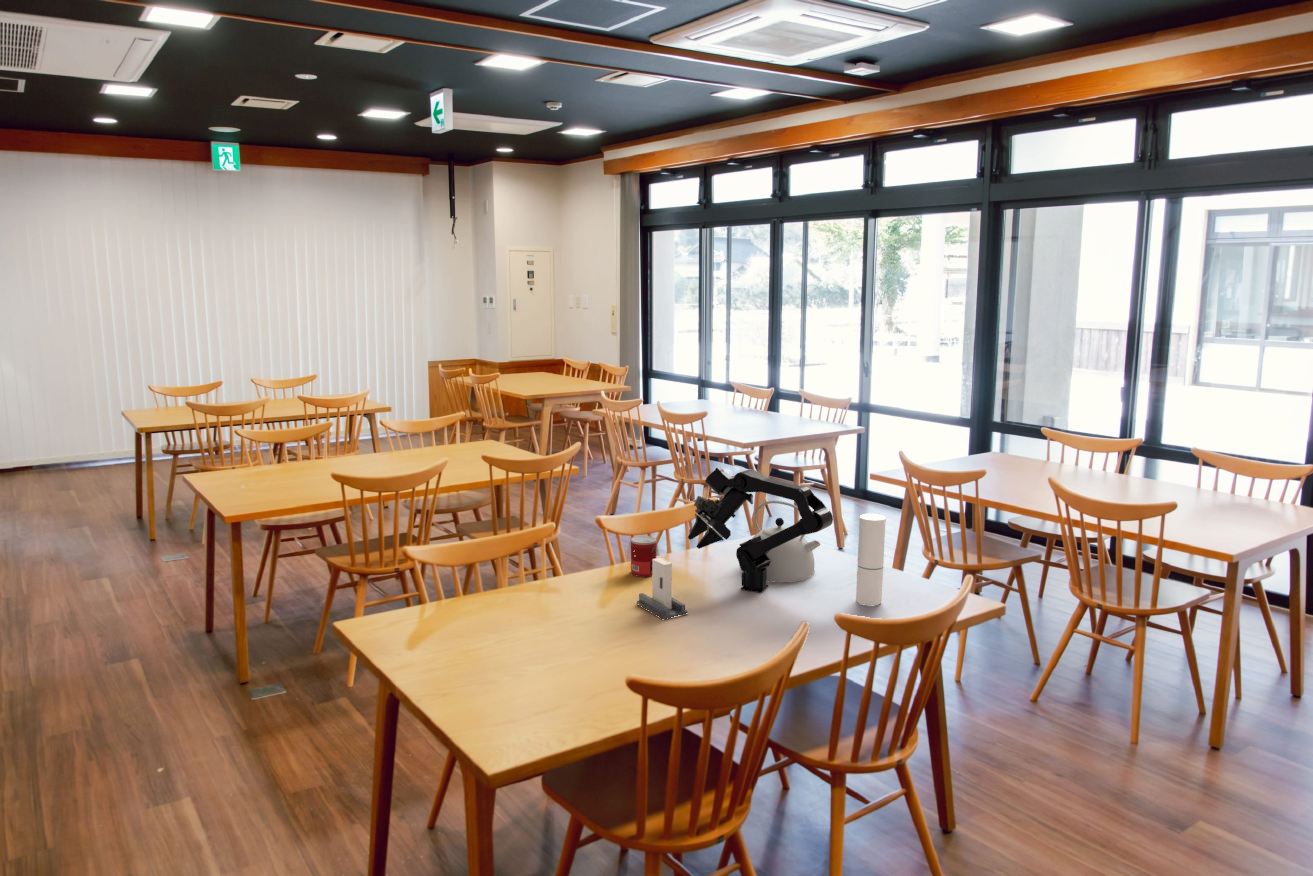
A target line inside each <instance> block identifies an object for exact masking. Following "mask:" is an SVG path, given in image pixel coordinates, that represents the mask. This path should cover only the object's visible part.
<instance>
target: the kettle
mask: <svg viewBox="0 0 1313 876" xmlns="http://www.w3.org/2000/svg"><path fill="white" fill-rule="evenodd" d="M769 504H780V505H784V506H789V507H791V508H793V509H796V510H797V511H798V512H799V510H798V507H797V505H795V504H794V503H791V502H786V501H782V500H781V501H780V500H768V501H764V502H763V503H761V504H760V505H759V506H758V507H756V509H755V512H754V516H753V522H754V526H755V528H756V530H757V531H758V532H757V533H756V534H755V535H754V536H753V537H752V538H754V537H757V536H759V535H760V536H761V539H766V538H768V537H770V536H772V535H774V534H776V533H778V532H780V531H782V530H784V529H786V528H788V527H786V526H783V525H784V524H785V520H784V519H783V518H782V517H777V518H776V519H775V524H776V526H769V527H766V528H764V529H761V528H760V527H759V525H758V520H757V517H758V512H759V511H760V509H761V508H762V507H764V506H766V505H769ZM805 536H806V535H801V536H799V537H796V538H794V539H792V540H790V541H788V542H786V543H784V544H782V545H780V546H778V547H775V548H773V549H771V550H770V551H769V552H768V553H767V556H768V557H769V559H770V560H771V562H770V565H769V566H768V567H766V568H767V578H766V582H771V581H775V582H774V583H793V582H794V583H795V582H801V581H805V580H807V579H810V578H812V577H813V576H814V575H815V557H814V552H813V551H814V550H816V549H817V548H819V547H820V546H822V545H821V543H820V542H819V541H818V540H811V541H809V542H808V540H807V539H806V537H805Z"/></svg>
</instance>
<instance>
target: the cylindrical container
mask: <svg viewBox="0 0 1313 876" xmlns="http://www.w3.org/2000/svg"><path fill="white" fill-rule="evenodd" d="M886 519H887V518H886V516H885V515H882V514H878V513H877V514H876V513H863V514H860V515H859V522H858V523H859V524H858V544H857V545H858V547H857V568H856V569H857V571H856V590H855V591H856V594H855V602H856V601H857V602H858V603H860V604H859V605H861V604H865V605H877V604H880V603H881V602H882V600H883V580H884V564H885V563H884V560H885V559H884V558H885V543H886V542H885V541H886V539H885V537H886ZM857 602H856V603H857ZM858 603H857V604H858ZM882 603H883V602H882ZM882 603H881V604H882ZM881 604H880V605H881Z"/></svg>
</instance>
